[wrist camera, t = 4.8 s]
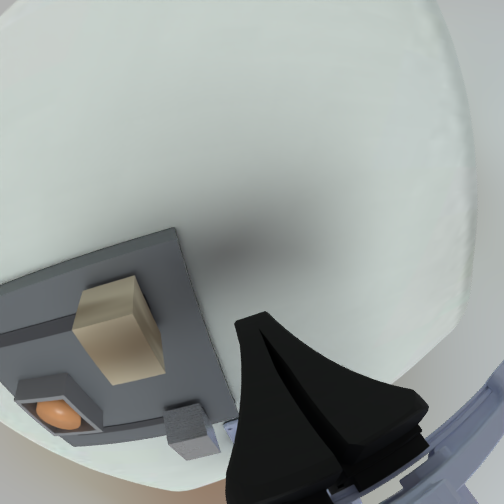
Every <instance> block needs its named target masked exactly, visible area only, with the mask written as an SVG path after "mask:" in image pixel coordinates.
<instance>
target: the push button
mask: <svg viewBox="0 0 504 504" xmlns="http://www.w3.org/2000/svg"><path fill="white" fill-rule="evenodd" d="M36 412H37V414H38V416H39V417H40V418H41V419H42V420H43V421H45V422H46V423H48V424H50V425H52V426H54V427H57V428H61V429H67V430H72V429H77V428H78V427H80V425H81V416H80V415H79V414H78V413H77V412H75V411H74V410H73V409H72V408H71V407H70V406H69V405H68V404H67V403H66V402H65V401H64V400H63V399H61V400H53V401H44V402H37V408H36Z"/></svg>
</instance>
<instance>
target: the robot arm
mask: <svg viewBox="0 0 504 504" xmlns="http://www.w3.org/2000/svg"><path fill="white" fill-rule="evenodd" d="M234 325H235V328H236V332H237V336H238V340H239V344H240V352H241V399H240V409H239V418H238V420H234V421H231V422H228V423H225V424H224V429H225V430H226V432H227V434H228V435H229V437H230V439H231V440H232V442H233V444H234V445H233V450H232V454H231V457H230V461H229V465H228V468H227V472H226V490H225V491H226V492H225V493H226V501H227V504H362V502H361V499H360V497H362V496H364V495H366V494H368V493H369V492H371V491H373V490H375V489H376V488H378V487H379V486H381V485H383V484H385V483H386V482H388V481H389V480H391V479H392V478H394V477H395V476H397V475H398V474H400V473H401V472H403V471H404V470H406V469H407V468H409V467H410V466H412V465H413V464H414V463H416V462H417V461H418V460H420V459H421V458H422V457H424V456H425V455H426V454H428V453H429V454H428V460H427V461H425V462H424V463H423V464H421V465H420V466H419V467H417V468H416V469H415V470H413V471H412V472H411V473H409V474H408V475H406V476H405V477H404V478H402V479H401V480H400V483H401V485H402V486H403V489H401V490H400V491H398V492H397V493H395V494H394V495H392V496H391V497H389V498H387V499H386V500H384V501H382V502H381V503H379V504H478V502H477V501H476V499H475V498H474V497H473V495H472V494H471V492H470V491H469V490H468V488H467V487H466V486H465V483H466V481H467V480H468V479H469V478H470V477H471V476H472V474H474V472H475V471H476V470H477V469H478V468H479V467H480V465H481V464H482V463H483V461H484V460H485V459H486V458H487V457H488V455H489V454H490V453H491V451H492V450H493V449H494V447H495V446H496V445H497V443H498V442H499V440H500V439H501V438H502V436H503V435H504V360H503V361H502V363H501V364H500V365H499V366H498V367H497V368H496V370H495V371H494V372H493V373H492V375H491V376H490V377H489V378H488V380H487V381H486V383H485V384H484V385H483V387H482V388H481V389H480V390H479V391H478V392H477V393H476V394H475V395H474V396H473V397H472V398H471V399H470V400H469V401H468V402H467V403H466V404H465V405H464V406H462V407H461V408H460V409H459V410H458V411H457V412H456V413H455V414H454V415H453V416H452V417H450V418H449V419H448V420H447V421H446V422H445V423H444V424H442V425H441V426H440V427H439V428H438V429H436V430H435V431H434V432H433V433H431V434H430V435H429V436H428V437H426V438H425V439H424V438H423V436H422V435H421V434H420V433H421V432H422V429H421V428H420V426H419V425H418V423H419V422H420V421H421V420H422V418H423V417H424V416H425V415H426V413H427V411H428V408H429V406H428V405H427V403H426V402H425V401H424V400H423V399H422V398H421V397H420V395H418V394H417V393H416V392H415V391H414V390H412V389H407V388H403V387H398V386H394V385H390V384H387V383H384V382H380V381H377V380H374V379H371V378H369V377H366V376H364V375H361V374H359V373H356V372H354V371H351V370H349V369H347V368H345V367H343V366H341V365H339V364H337V363H335V362H333V361H331V360H330V359H328V358H326V357H324V356H323V355H321V354H319V353H318V352H316V351H315V350H313V349H312V348H310V347H309V346H307V345H306V344H304V343H303V342H302V341H300V340H299V339H298V338H296V337H295V336H294V335H293V334H291V333H290V332H289V331H288V330H286V329H285V328H284V327H283V326H282V325H281V324H279V323H278V322H277V321H276V320H275V319H274V318H273V317H272V316H271V315H270V314H269V313H268V312H266V311H264V312H261V313H258V314H255V315H252V316H249V317H246V318H243V319H240V320H237V321H236V322H235V323H234Z"/></svg>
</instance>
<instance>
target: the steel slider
mask: <svg viewBox="0 0 504 504" xmlns="http://www.w3.org/2000/svg"><path fill="white" fill-rule="evenodd" d="M163 417H164V423H165V429H166V435H167V440H168V445H169V446H171V447H172V448H173V449H174V450H175V451H176V452H177V453H178V454H180V455H181V456H182V457H183V458H184V459H185V460H191V459H196V458H200V457H204V456H209V455H213V454H217V453H220V452H221V451H220V448H219V445H218V442H217V439H216V436H215V432H214V429H213V426H212V423H211V422H210V420H209V418H208V417H207V415H206V414H205V412H204V410H203V409H202V407H201V406H200V404H199V403H197V404H193V405H189V406H185V407H181V408H177V409H173V410H168V411H164V412H163Z"/></svg>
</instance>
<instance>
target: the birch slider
mask: <svg viewBox="0 0 504 504" xmlns="http://www.w3.org/2000/svg"><path fill="white" fill-rule="evenodd" d="M72 331H73V333H74V334H75V336H76V337H77V339H78V340H79V342H80V343H81V344H82V346H83V347H84V349H85V350H86V352H87V353H88V354H89V356H90V357H91V358H92V360H93V361H94V362H95V364H96V365H97V366H98V368H99V369H100V370H101V372H102V373H103V374H104V375H105V377H106V378H107V379H108V380H109V382H110V383H111V384H112V385H117V384H122V383H127V382H131V381H136V380H140V379H145V378H149V377H153V376H157V375H161V374H165V373H166V372H165V365H164V357H163V349H162V341H161V333H160V331H159V329H158V326H157V324H156V322H155V320H154V318H153V316H152V314H151V312H150V309H149V307H148V305H147V303H146V301H145V298H144V296H143V294H142V292H141V289H140V287H139V285H138V282H137V280H136V277H135V275H134V276H130V277H127V278H124V279H120V280H117V281H114V282H110V283H107V284H104V285H100V286H97V287H94V288H90V289H87V290H84V291H83V292H82V295H81V298H80V302H79V305H78V309H77V312H76V316H75V320H74V324H73V328H72Z"/></svg>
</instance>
